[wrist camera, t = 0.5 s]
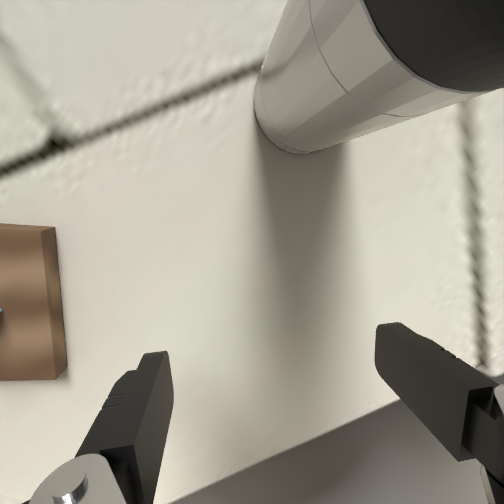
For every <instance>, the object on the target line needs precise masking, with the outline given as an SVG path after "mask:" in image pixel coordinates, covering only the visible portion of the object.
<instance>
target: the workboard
mask: <svg viewBox="0 0 504 504" xmlns="http://www.w3.org/2000/svg"><path fill="white" fill-rule="evenodd" d="M0 308H1V309H2V311H1V312H0V381H12V380H56V379H57V378H58V377H59V376H60V374H61V373H62V372H63V371H64V369H65V368H66V367H67V357H66V346H65V335H64V324H63V313H62V302H61V291H60V280H59V269H58V258H57V246H56V235H55V227H45V226H30V225H15V224H0Z"/></svg>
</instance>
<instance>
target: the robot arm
mask: <svg viewBox="0 0 504 504" xmlns="http://www.w3.org/2000/svg"><path fill="white" fill-rule="evenodd" d="M499 88H504V0H288V2H287V4H286V7H285V9H284V12H283V14H282V17H281V19H280V22H279V24H278V27H277V30H276V32H275V35H274V37H273V40H272V42H271V45H270V47H269V50H268V52H267V54H266V57H265V59H264V62H263V64H262V67H261V70H260V72H259V75H258V78H257V81H256V85H255V90H254V108H255V113H256V117H257V120H258V123H259V125H260V127H261V129H262V131H263V133H264V134H265V135H266V136H267V138H268V139H269V140H270V141H271V142H272V143H274V144H275V145H276V146H277V147H279V148H281V149H283V150H285V151H287V152H291V153H295V154H307V153H311V152H315V151H319V150H323V149H326V148H327V147H330V146H333V145H336V144H339V143H342V142H345V141H348V140H351V139H354V138H357V137H360V136H363V135H365V134H368V133H371V132H374V131H377V130H380V129H383V128H386V127H389V126H392V125H395V124H397V123H400V122H403V121H406V120H409V119H412V118H415V117H418V116H421V115H424V114H426V113H429V112H432V111H435V110H438V109H441V108H444V107H447V106H450V105H452V104H455V103H458V102H461V101H464V100H467V99H470V98H473V97H476V96H479V95H482V94H485V93H488V92H491V91H493V90H496V89H499ZM375 366H376V369H377V371H378V373H379V375H380V376H381V378H382V379H383V380H384V381H385V382H386V383H387V384H388V385H389V387H390V388H391V389H392V390H393V391H394V392H395V393H396V394H397V395H398V396H399V397H400V399H401V400H402V401H403V402H404V403H405V404H406V405H407V406H408V407H409V408H410V410H411V411H412V412H413V413H414V414H415V415H416V416H417V417H418V418H419V419H420V420H421V421H422V423H423V424H424V425H425V426H426V427H427V428H428V429H429V430H430V431H431V433H432V434H433V435H434V436H435V437H436V438H437V439H438V440H439V441H440V442H441V443H442V445H443V446H444V447H445V448H446V449H447V450H448V451H449V452H450V453H451V454H452V456H453V457H454V458H455V459H456V460H457V461H458V462H459V461H464V460H468V459H474V458H476V459H477V460H478V461H479V462H480V463H481V468H480V475H481V480H482V483H483V487H484V490H485V494H486V498H487V501H488V504H504V385H499V384H497V383H496V382H494V381H492V380H491V379H490V378H488V377H486V376H485V375H483V374H482V373H480V372H479V371H477V370H476V369H474V368H473V367H471V366H470V365H468V364H467V363H465V362H464V361H462V360H461V359H459V358H456V356H455V355H453V354H452V353H450V352H449V351H447V350H446V351H445V349H444V348H443V347H441V346H440V345H438V344H437V343H435V342H434V341H432V340H430V339H428V338H426V337H423V336H421V335H419V334H416V333H415V332H413V331H412V330H411V329H409V328H408V327H406V326H405V325H403V324H402V323H400V322H395V323H387V324H380V325H378V326H377V329H376V341H375ZM173 401H174V391H173V383H172V376H171V369H170V362H169V355H168V352H167V351H161V352H153V353H145V354H144V355H143V357H142V359H141V361H140V363H139V365H138V368H137V370H131V371H127V372H126V373H125V374H124V375H123V376H122V377H121V378H120V379H119V380H118V381H117V382H116V383H115V384H114V386H113V388H112V390H111V392H110V393H109V395H108V399H106V401H105V403H104V404H103V406H102V410H100V412H99V414H98V415H97V417H96V419H95V421H94V423H93V425H92V426H91V428H90V430H89V432H88V434H87V436H86V437H85V439H84V441H83V443H82V445H81V447H80V448H79V450H78V452H77V454H76V456H75V458H74V459H72V460H70V461H68V462H66V463H64V464H63V465H61V466H60V467H58V468H57V469H56V470H55V471H53V472H52V473H51V474H50V475H49V476H48V477H47V478H46V479H45V480H44V481H43V482H42V483H41V484H40V485H39V487H38V488H37V490H36V491H35V492H34V494H33V496H32V497H31V499H30V500H28V501H26V502H24V503H22V504H153V500H154V496H155V491H156V486H157V481H158V476H159V472H160V467H161V462H162V457H163V452H164V448H165V443H166V438H167V433H168V428H169V424H170V419H171V414H172V409H173Z"/></svg>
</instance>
